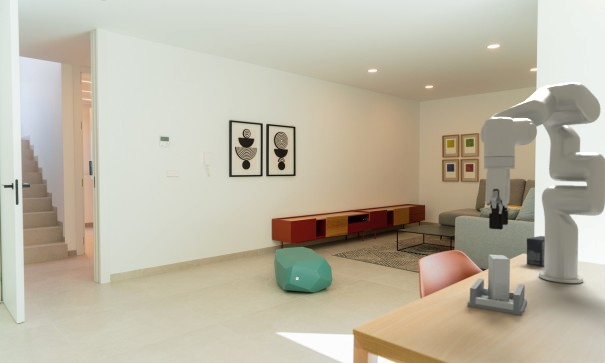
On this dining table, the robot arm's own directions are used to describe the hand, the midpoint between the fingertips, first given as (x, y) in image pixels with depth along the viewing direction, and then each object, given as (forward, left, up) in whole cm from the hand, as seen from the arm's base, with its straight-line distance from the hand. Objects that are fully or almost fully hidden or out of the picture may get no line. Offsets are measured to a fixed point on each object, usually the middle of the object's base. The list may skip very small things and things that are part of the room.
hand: (498, 226), depth 111 cm
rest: (0, 0, -21) cm, 21 cm away
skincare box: (0, 0, -21) cm, 21 cm away
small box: (-64, +6, -22) cm, 68 cm away
